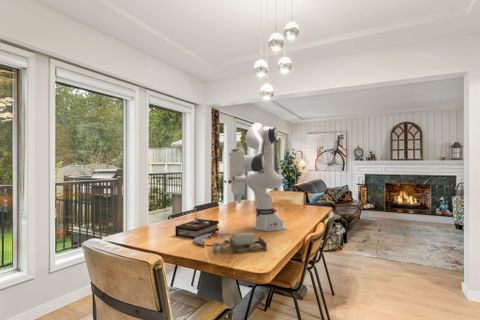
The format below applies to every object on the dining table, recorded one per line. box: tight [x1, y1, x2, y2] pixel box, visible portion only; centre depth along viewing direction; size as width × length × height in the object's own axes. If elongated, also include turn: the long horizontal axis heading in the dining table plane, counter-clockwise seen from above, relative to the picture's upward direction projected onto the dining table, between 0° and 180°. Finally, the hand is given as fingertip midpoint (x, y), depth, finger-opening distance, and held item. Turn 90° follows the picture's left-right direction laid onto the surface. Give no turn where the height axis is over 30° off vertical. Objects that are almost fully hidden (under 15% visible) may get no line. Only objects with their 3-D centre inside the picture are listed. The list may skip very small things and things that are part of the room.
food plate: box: [193, 231, 235, 246], centre depth 163 cm, size 25×23×4 cm
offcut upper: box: [250, 244, 261, 248], centre depth 144 cm, size 4×3×1 cm
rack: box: [229, 236, 267, 255], centre depth 145 cm, size 17×12×5 cm
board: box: [233, 232, 256, 245], centre depth 148 cm, size 11×2×7 cm, turn 102°
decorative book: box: [174, 217, 220, 240], centre depth 184 cm, size 19×8×30 cm
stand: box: [212, 243, 226, 255], centre depth 142 cm, size 7×8×4 cm
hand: (237, 201), depth 153 cm, fingers open, 8 cm apart
